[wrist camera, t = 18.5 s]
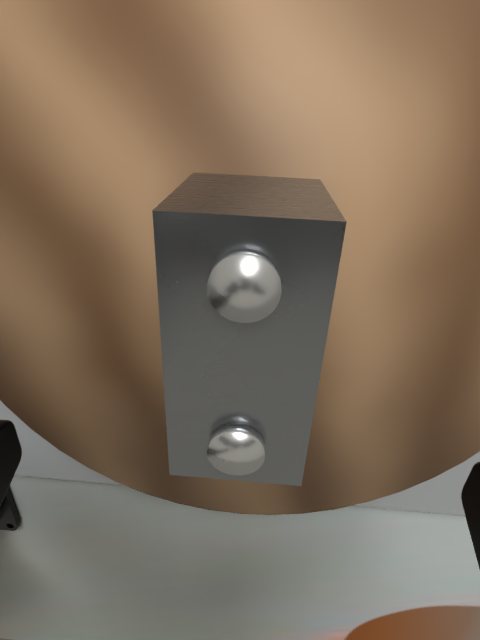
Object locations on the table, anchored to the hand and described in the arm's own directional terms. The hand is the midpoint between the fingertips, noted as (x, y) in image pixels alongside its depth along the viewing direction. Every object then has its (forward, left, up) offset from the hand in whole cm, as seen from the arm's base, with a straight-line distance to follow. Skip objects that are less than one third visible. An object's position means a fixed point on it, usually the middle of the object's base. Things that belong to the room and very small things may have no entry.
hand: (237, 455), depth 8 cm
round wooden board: (0, 0, -10) cm, 10 cm away
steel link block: (0, 0, -8) cm, 8 cm away
